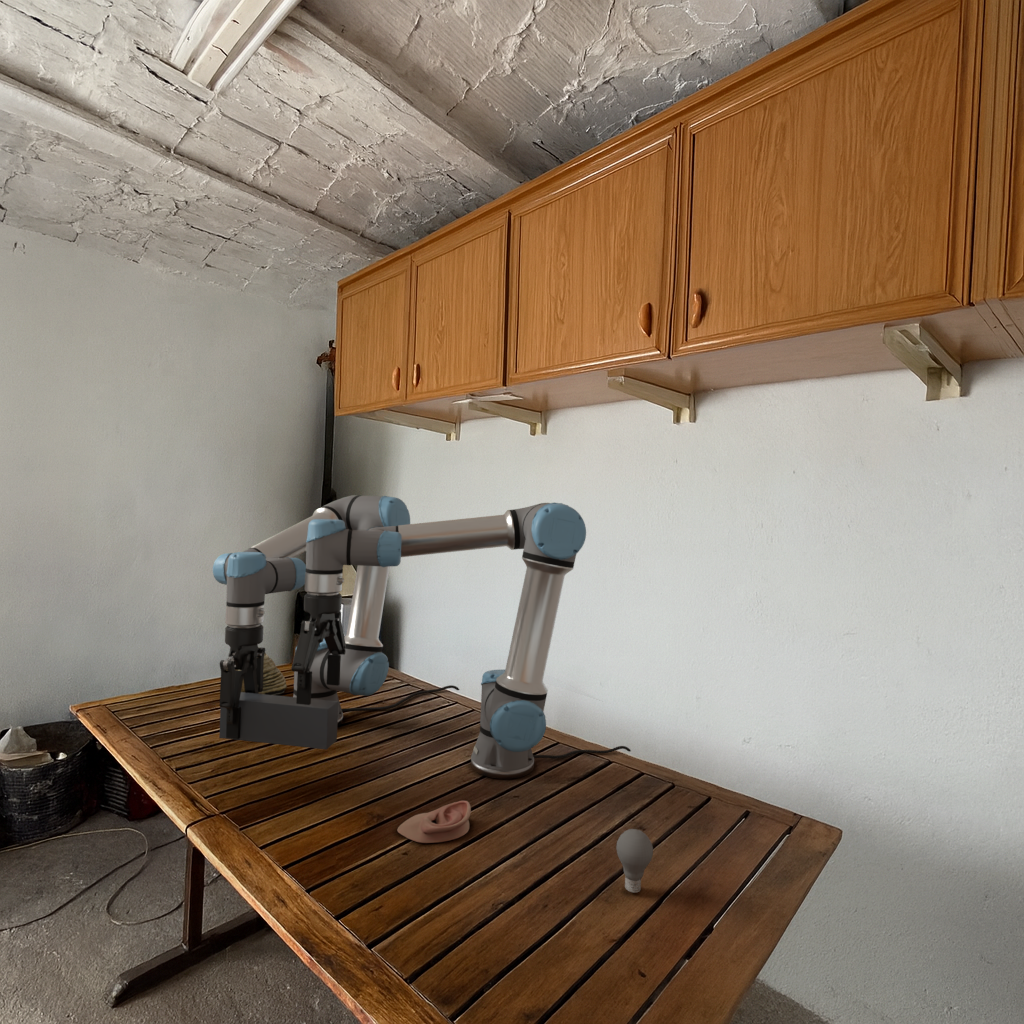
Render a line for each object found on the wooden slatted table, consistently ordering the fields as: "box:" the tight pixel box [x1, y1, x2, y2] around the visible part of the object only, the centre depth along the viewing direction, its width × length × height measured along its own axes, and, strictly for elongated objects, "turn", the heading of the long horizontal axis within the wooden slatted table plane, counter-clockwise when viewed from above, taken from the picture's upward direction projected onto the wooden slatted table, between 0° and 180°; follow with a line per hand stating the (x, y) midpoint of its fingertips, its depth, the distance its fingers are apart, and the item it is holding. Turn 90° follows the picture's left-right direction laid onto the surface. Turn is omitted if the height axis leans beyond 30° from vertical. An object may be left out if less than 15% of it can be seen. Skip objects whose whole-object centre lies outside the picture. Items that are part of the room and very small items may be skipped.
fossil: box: [237, 652, 288, 696], centre depth 198 cm, size 9×18×15 cm, turn 132°
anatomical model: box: [396, 800, 472, 844], centre depth 123 cm, size 13×4×12 cm
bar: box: [218, 692, 338, 750], centre depth 134 cm, size 24×5×8 cm, turn 81°
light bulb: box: [615, 828, 654, 894], centre depth 106 cm, size 6×6×10 cm
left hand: (240, 732), depth 136 cm, fingers closed on bar, 5 cm apart
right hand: (319, 693), depth 133 cm, fingers open, 13 cm apart
